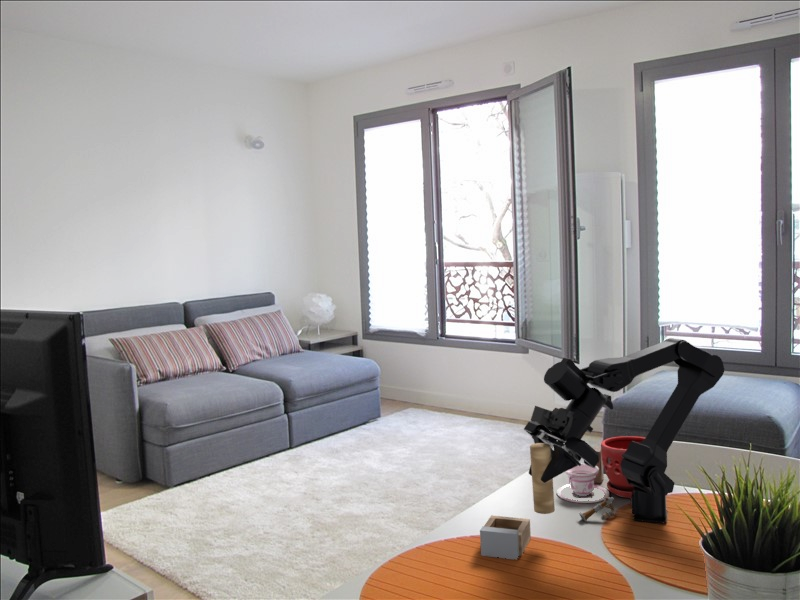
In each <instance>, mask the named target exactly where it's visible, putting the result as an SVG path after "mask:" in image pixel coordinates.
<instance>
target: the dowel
mask: <svg viewBox="0 0 800 600" xmlns="http://www.w3.org/2000/svg"><path fill="white" fill-rule="evenodd" d="M529 453H530V466H531V470H532V476H531V482H532V499H533V500H532V501H533V511H534V512H535V513H537V514H541V515H549V514H552V513H554V512H555V495H554V480H553V479H554V478H553V479H551V480H549V481H547V482H546V483H544V482H542V481H541V477H542V475H543V473H544V471H545V469H546V468H547V466H548V464H549V462H550V461H551V446H550V445H549V444H546V443H532V444H530V445H529Z"/></svg>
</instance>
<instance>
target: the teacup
mask: <svg viewBox="0 0 800 600" xmlns="http://www.w3.org/2000/svg"><path fill="white" fill-rule="evenodd" d="M579 463H580V462H579ZM580 464H581V466H576V467H574V468H572V469H569V470H567V471H565V472H564V473H565V474H566V475H567V478H568V482H569V484H564V485H563V486H562V485H561V486H560V487H559V488H557V490H556V494H557V497H559V498H560V499H562V500H565V501H567V502H570V503H571V502H572V503H580V504H593V503H601V502H604V500H605V498H606V497H607V498H608V497H610V490H609V489H608V488H605V487H604V486H601V485H598V484H595V483H594V480H595V479H596V477H595V476H596V475H597V474H598V472H599V468H598V467H597V466H595V468H592V467H590V466H588V465H586V464H585V463H584V462H581V463H580ZM569 486H570V488H571V490H572V491H574V492H573V493H574V495H576V494H577V495H576V496H578V495H579V496H578V497H588V496H589V495H590V494H591V493H592V491H593V490H594V488H597V489H600V490H602V491H603V492H604V494H605V495H604V497H603V498H601V499H599V500H595V501H589V500H588V501H578V500H577V501H576V500H573V499H572V500H571V499H568V498H565V497H564V496H563V495H562V494H561V491H562V490H563V489H564V488H566V487H569ZM587 495H588V496H587Z"/></svg>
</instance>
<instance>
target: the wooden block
mask: <svg viewBox="0 0 800 600" xmlns="http://www.w3.org/2000/svg"><path fill="white" fill-rule="evenodd" d="M591 447H592V448H593V449H594V450H595V451H596V452H598V453H599V462H598V463H597V465H596V466H597V467H598V468H599V472H598V474H597V475H596V476H595V477H596V479H595V480H594V484H596V483H597V484H602V483H603V479H604V477H605V476H604V466H603V462H602V454H601V446H591Z"/></svg>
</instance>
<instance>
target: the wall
mask: <svg viewBox="0 0 800 600" xmlns="http://www.w3.org/2000/svg"><path fill="white" fill-rule="evenodd" d="M479 536H480V542H479V543H480V556H482V557H489V558H490V557H492V558H497V557H499V558H498V559H505V558H506V559H507V560H514V559H516V561H517V560H518V559H519V557H520V555H519V537H518V530H513V529H504V528H494V527H485V526H484V525H483V526H482V527H481V528H480V530H479ZM518 556H519V557H518ZM517 558H518V559H517Z"/></svg>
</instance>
